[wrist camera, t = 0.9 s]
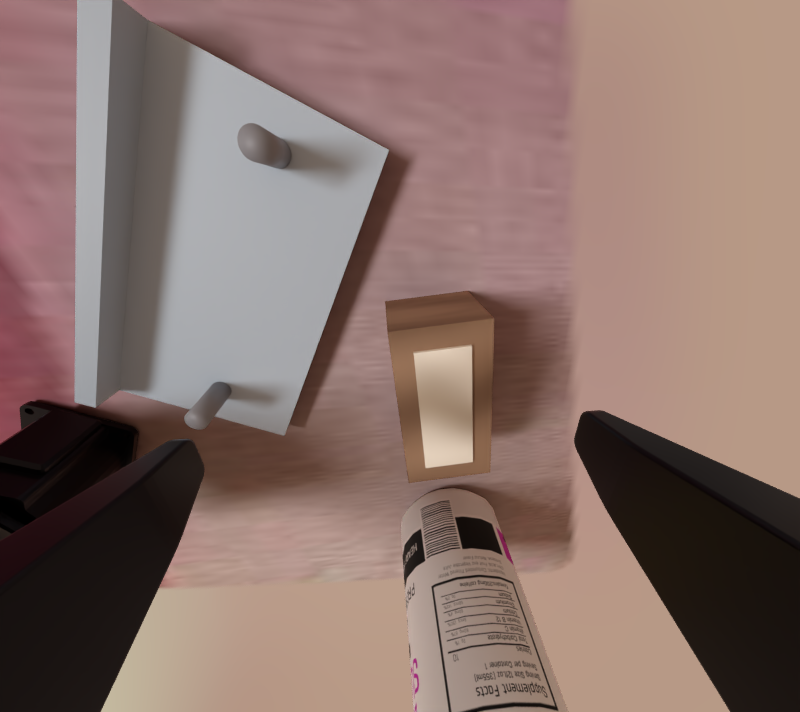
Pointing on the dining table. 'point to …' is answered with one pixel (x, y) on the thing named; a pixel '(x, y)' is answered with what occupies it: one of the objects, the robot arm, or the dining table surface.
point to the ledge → (203, 225)
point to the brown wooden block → (443, 383)
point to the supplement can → (469, 613)
